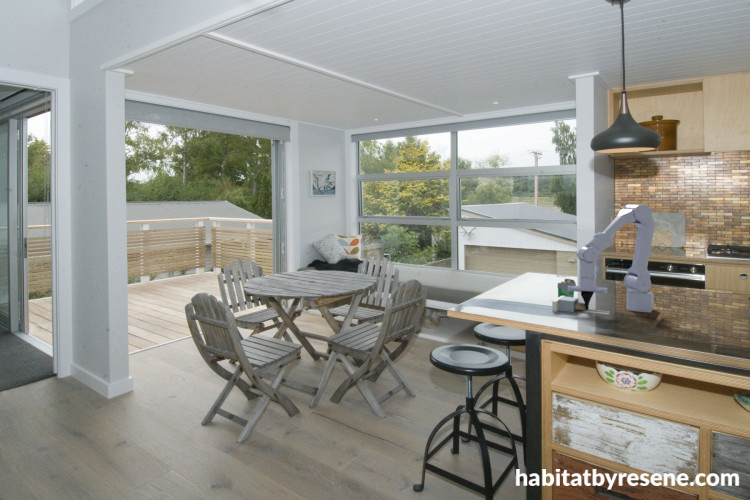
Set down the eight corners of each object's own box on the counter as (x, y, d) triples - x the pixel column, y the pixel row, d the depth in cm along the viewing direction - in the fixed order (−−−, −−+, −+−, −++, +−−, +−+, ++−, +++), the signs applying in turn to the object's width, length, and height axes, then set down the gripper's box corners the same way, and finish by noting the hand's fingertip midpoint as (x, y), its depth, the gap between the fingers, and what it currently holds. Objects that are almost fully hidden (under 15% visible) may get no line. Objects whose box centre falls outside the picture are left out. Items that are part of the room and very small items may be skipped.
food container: (571, 306, 205) (572, 284, 203) (557, 305, 208) (557, 283, 207) (579, 300, 214) (579, 279, 213) (565, 299, 218) (565, 278, 217)
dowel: (585, 311, 192) (586, 304, 193) (584, 310, 190) (584, 302, 190) (565, 309, 197) (566, 302, 197) (563, 308, 195) (564, 300, 195)
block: (578, 311, 196) (578, 297, 195) (573, 315, 191) (573, 301, 190) (563, 309, 200) (563, 296, 199) (558, 313, 194) (558, 299, 194)
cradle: (610, 315, 187) (610, 311, 187) (607, 318, 183) (607, 314, 183) (586, 313, 193) (586, 308, 193) (583, 315, 189) (583, 311, 189)
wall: (565, 308, 202) (565, 295, 201) (556, 314, 192) (556, 301, 192) (561, 308, 203) (561, 295, 202) (552, 314, 193) (552, 301, 193)
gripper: (607, 275, 189) (607, 308, 190) (569, 274, 196) (569, 305, 197) (606, 278, 182) (606, 312, 184) (567, 277, 190) (566, 309, 191)
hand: (587, 309), depth 190 cm, fingers closed
